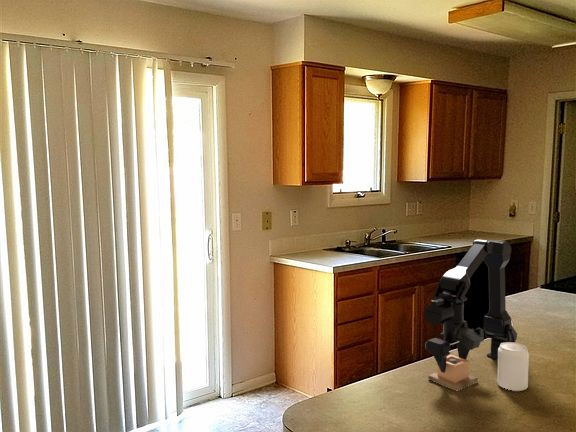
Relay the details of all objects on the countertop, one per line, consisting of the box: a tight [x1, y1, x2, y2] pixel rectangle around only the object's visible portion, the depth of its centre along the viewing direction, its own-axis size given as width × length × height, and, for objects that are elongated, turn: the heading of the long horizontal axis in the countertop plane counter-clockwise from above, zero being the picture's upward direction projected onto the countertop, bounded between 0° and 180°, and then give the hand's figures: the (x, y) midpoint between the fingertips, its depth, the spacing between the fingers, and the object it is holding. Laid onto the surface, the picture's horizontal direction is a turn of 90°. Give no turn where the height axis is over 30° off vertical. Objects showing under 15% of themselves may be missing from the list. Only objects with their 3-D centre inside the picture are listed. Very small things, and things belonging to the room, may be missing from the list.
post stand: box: [428, 359, 479, 391], centre depth 154 cm, size 10×10×6 cm
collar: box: [436, 354, 470, 383], centre depth 154 cm, size 6×6×5 cm
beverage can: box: [497, 342, 530, 392], centre depth 149 cm, size 8×8×12 cm
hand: (453, 368), depth 154 cm, fingers open, 9 cm apart
